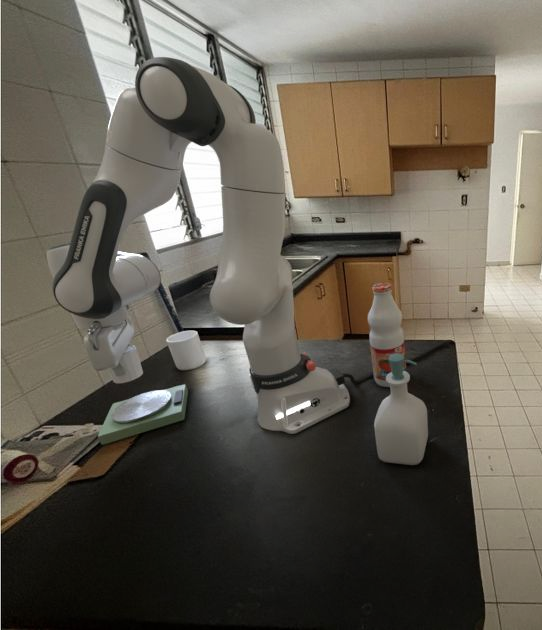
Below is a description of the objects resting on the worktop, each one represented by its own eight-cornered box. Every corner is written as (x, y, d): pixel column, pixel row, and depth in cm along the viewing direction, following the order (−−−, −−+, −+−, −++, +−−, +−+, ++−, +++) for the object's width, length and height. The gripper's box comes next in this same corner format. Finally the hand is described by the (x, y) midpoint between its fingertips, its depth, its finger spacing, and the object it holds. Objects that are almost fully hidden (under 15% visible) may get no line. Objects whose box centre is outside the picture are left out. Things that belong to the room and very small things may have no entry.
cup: (186, 373, 103) (175, 344, 99) (164, 365, 109) (153, 337, 105) (212, 360, 110) (203, 332, 106) (190, 353, 115) (180, 327, 111)
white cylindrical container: (126, 386, 77) (113, 359, 74) (102, 383, 78) (89, 357, 75) (153, 370, 83) (143, 345, 80) (131, 367, 84) (120, 343, 81)
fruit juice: (394, 366, 102) (387, 277, 91) (413, 379, 95) (407, 285, 84) (368, 377, 97) (356, 285, 86) (385, 392, 90) (375, 294, 79)
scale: (188, 391, 94) (184, 381, 93) (184, 419, 83) (180, 409, 82) (116, 411, 87) (111, 401, 86) (101, 445, 76) (96, 434, 75)
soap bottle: (422, 470, 66) (416, 372, 57) (375, 465, 67) (362, 368, 58) (429, 435, 74) (426, 345, 65) (388, 431, 76) (378, 343, 67)
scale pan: (173, 386, 91) (173, 385, 91) (168, 411, 82) (168, 409, 81) (118, 401, 86) (117, 400, 86) (106, 429, 76) (104, 427, 76)
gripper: (107, 327, 67) (133, 385, 72) (128, 299, 84) (148, 347, 89) (65, 335, 64) (95, 395, 70) (96, 304, 81) (118, 354, 86)
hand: (125, 368), depth 79 cm, fingers closed on white cylindrical container, 5 cm apart
